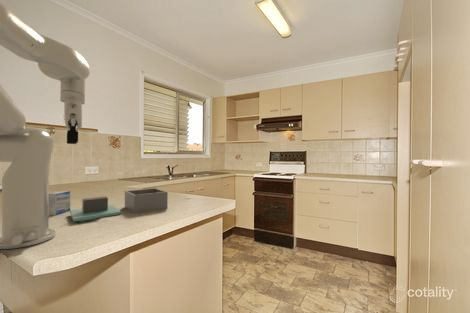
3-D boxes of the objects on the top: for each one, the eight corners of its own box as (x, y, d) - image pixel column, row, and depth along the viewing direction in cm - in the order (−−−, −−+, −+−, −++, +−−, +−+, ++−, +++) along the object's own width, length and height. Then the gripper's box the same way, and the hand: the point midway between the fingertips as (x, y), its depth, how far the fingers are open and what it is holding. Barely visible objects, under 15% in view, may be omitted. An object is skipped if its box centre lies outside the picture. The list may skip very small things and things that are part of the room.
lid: (120, 216, 86) (120, 198, 86) (73, 224, 76) (73, 204, 76) (112, 209, 97) (112, 193, 97) (70, 215, 87) (70, 197, 87)
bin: (167, 209, 97) (167, 191, 97) (134, 215, 88) (134, 195, 88) (155, 204, 108) (155, 188, 108) (124, 208, 98) (124, 191, 98)
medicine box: (55, 215, 87) (55, 193, 87) (44, 215, 87) (44, 193, 87) (70, 210, 95) (70, 190, 95) (60, 210, 95) (60, 190, 95)
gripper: (86, 95, 79) (85, 142, 79) (83, 104, 93) (82, 144, 93) (60, 90, 75) (59, 140, 74) (60, 101, 88) (59, 143, 88)
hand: (72, 142), depth 83 cm, fingers open, 9 cm apart
